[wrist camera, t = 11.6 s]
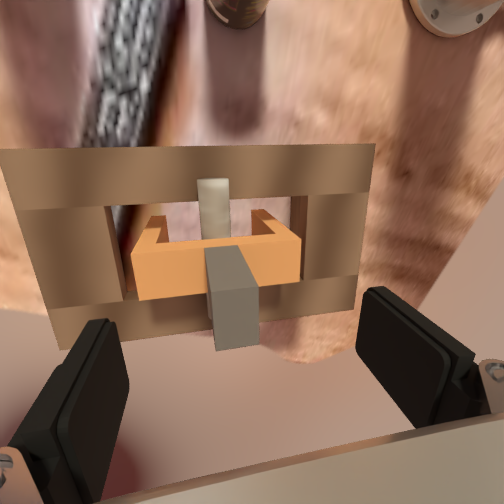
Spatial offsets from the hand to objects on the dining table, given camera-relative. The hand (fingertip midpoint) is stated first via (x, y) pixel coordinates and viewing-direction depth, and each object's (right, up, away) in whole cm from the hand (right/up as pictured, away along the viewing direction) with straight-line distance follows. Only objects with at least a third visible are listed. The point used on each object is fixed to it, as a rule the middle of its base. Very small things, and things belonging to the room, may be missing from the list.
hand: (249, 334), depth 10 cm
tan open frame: (-5, +7, +21) cm, 23 cm away
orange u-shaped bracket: (-4, +5, +15) cm, 17 cm away
